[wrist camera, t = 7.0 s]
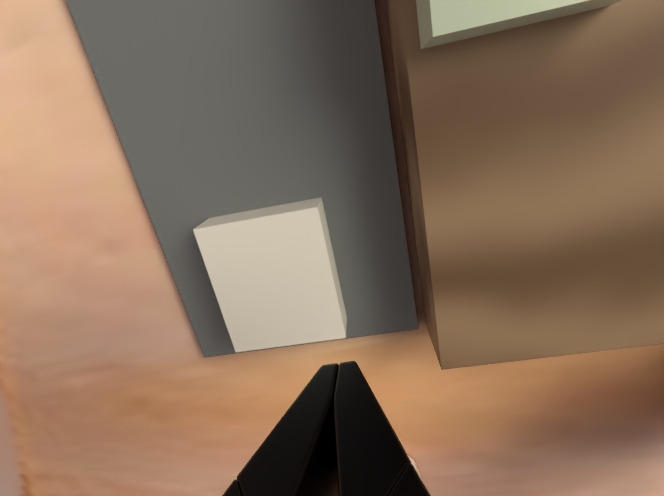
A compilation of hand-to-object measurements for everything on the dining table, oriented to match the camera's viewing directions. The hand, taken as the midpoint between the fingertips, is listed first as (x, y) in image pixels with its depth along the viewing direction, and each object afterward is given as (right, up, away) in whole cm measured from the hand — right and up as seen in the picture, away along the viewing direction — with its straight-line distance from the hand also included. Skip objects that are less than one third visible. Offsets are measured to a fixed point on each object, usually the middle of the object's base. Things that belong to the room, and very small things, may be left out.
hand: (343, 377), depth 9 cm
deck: (+8, +10, +7) cm, 15 cm away
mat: (-4, +8, +9) cm, 12 cm away
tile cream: (-3, +1, +9) cm, 9 cm away
